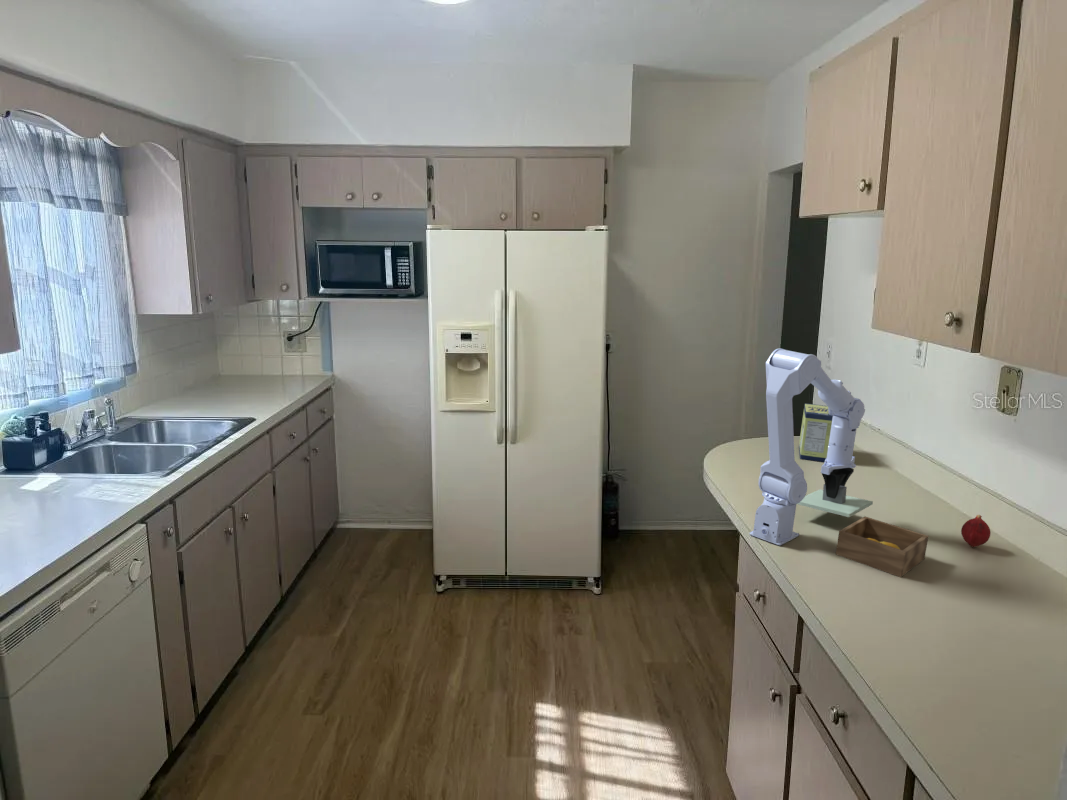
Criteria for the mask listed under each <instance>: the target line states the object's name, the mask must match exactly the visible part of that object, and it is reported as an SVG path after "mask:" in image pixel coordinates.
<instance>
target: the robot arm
mask: <svg viewBox="0 0 1067 800" xmlns="http://www.w3.org/2000/svg"><path fill="white" fill-rule="evenodd" d="M765 377H766V380H765V381H766V391H765V400H766V415H767V416H766V417H767V434H768V450H769V451H768V453H769V454H768V455H769V460H767V461H764V463H763V464H761V465H760V473H759V477H758V488H759V490H760V491H761V492H762V493H761V496H762V497H763V502H762V503H761V505H759V506H758V507H757V509H756V511H755V514H754V515H755V516H754V522H753V523H754V525H753V530H752V531H750V532H749V535H750V536H752V537H755V538H758V539H761V540H763V541H766V542H769V543H771V544H774V545H777V546H782V545H784V544H786V543H788V542H789V541H792V540H794V539H796V538H797V537H799V536H800V533H799V532H795V531H794V524H795V517H796V511H797V505H798V504H797V503H800V501H802V500H803V498H804V497H805V496H806V495H807V492H808V483H807V480H806V478H805V472H804V470H803V468H802V467H801V466H800V465H799V464H798V462H796V461H795V439H794V438H795V437H794V435H795V434H794V413H793V398H794V396H797V395H800V394H801V393H802V392H803V391H804V390H805V389H807V387H808V386H809V385H810V384H811V385H812V386H813V387H815V388H816V389H817V395H818V398H819V399H820V400H821V401H822V403H824V404H825V406H828V412H829V415H831V416H833V418H832V425H831V432H830V438H829V445H828V452H827V458H826V459H825V462H823V464H822V465H821V469H820V473H821V475H822V478H823V481H824V484H825V487H826V495H827V497H830V498H833V499H835V498H836V496H837V494H838V490H839V487H840V485H841V486H845V487H846V484H847V482H848V480H849V478H850V477H851V476H852V475H853V473H854V471H855V468H857V465H856V463H855V459H856V456H853V454H854V449H855V441H856V434H857V429H858V428H859V426H860V425H861V421H862V418H863V416H864V415H865V412H866V409H865V404H864V402H863V401H862V400H861V398H857V397H854V396H853V395H852V392H851V391H850V390H848V389H847V388H846V387H845V386H844V385H843V384H844V382H843V381H842V380H839V379H831V378H830V377H829V375H828V374H827V373H826V372H825V370H824V369H823V367H822V360H820V359H819V358H818V357H817V356H816V355H815V354H812V353H810V354H807V353H803V352H797V351H792V350H788V349H784V348H776V349H774V350H773V351H772V352H771V354H770V355H769V357H768V358H767V360H766V361H765Z"/></svg>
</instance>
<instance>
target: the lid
mask: <svg viewBox="0 0 1067 800" xmlns="http://www.w3.org/2000/svg"><path fill="white" fill-rule="evenodd" d="M847 488H848V487H847V486H846V485H845V486H841V485H840V487H839V490H838V494H837V496H836V498H835V499H833V498H830V497H827V495H826V487H825V483H824V484H823V488H822V489H821V488H819V489H817V490H815V491H813V492H810V493H809V494H806V495H805V497H804V498H803V500H802V501H800V503H797V504H796V505H797V506H798V505H799V506H803V507H807V508H811V509H816V510H818V511H823V512H827V513H830V514H831V513H832V514H833V515H834V514H835V515H838V516H839V515H840V516H842V517H845V518H846V517H847V518H850V517H852V516H854V515H856V514H857V513H860V512H862V511H863V510H865V509H867V508H869V507H871V506H872V505H873V502H874V501H873V500H868V499H864V498H859V497H856V496H850V495H847Z"/></svg>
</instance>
